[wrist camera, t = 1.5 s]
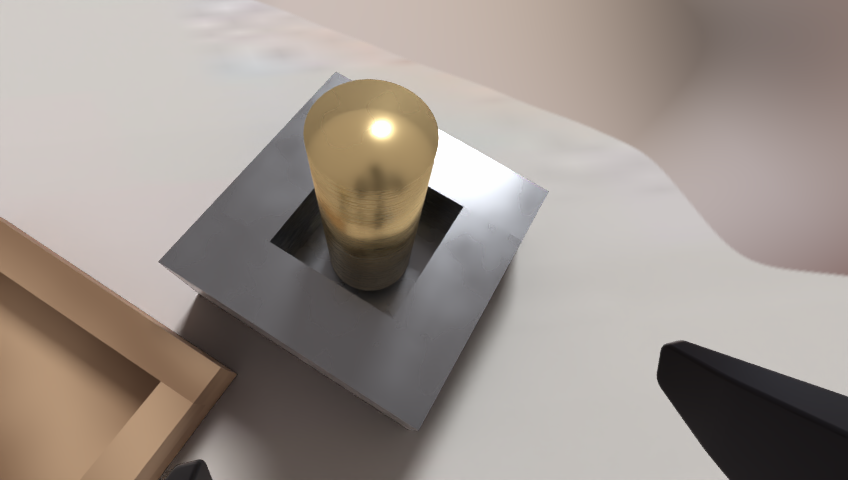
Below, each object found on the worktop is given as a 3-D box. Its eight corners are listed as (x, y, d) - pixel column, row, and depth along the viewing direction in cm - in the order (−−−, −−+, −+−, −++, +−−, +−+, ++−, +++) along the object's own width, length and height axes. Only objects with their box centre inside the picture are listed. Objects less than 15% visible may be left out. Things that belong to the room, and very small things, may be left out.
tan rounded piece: (382, 306, 21) (393, 216, 12) (313, 263, 22) (274, 145, 13) (424, 242, 23) (462, 119, 14) (359, 203, 23) (354, 59, 14)
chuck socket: (408, 429, 20) (418, 430, 16) (198, 293, 22) (157, 261, 17) (518, 229, 25) (548, 191, 21) (340, 127, 26) (335, 71, 22)
